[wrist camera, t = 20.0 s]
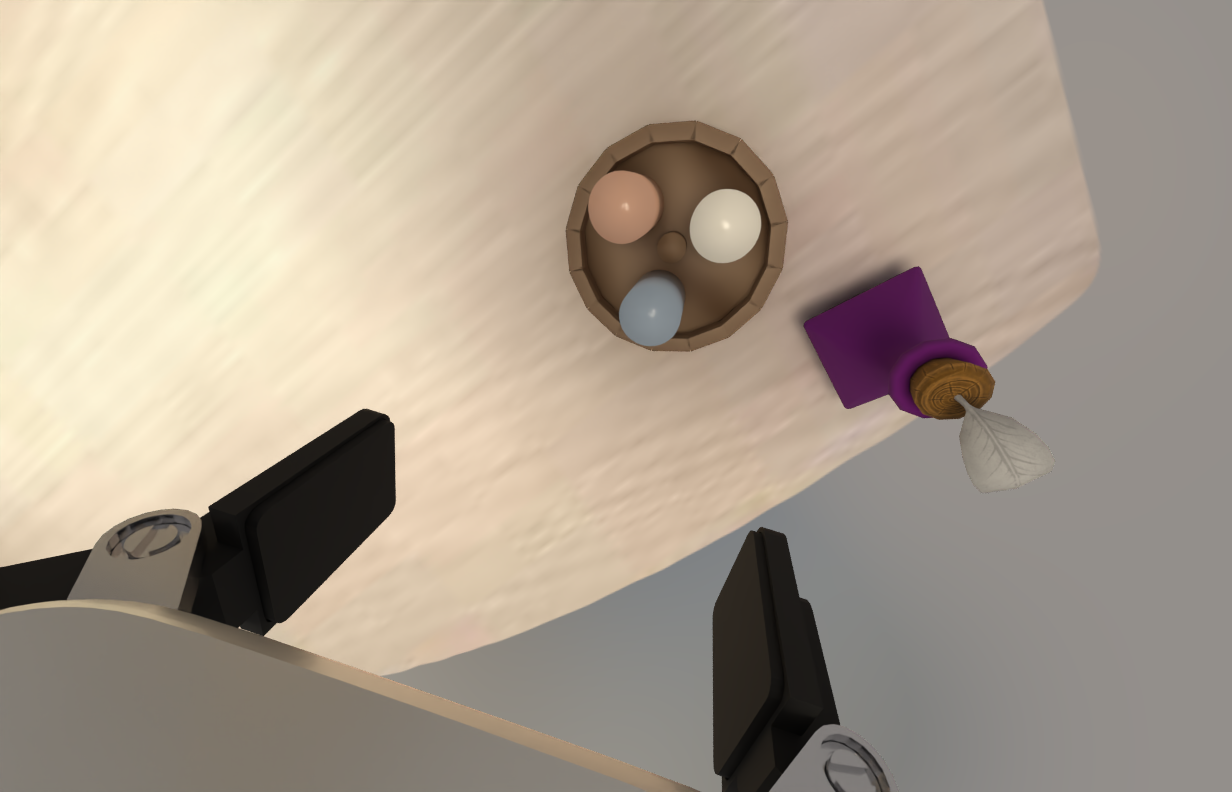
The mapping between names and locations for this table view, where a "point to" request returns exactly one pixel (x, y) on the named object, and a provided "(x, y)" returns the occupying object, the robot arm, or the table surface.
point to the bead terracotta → (625, 206)
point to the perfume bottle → (924, 376)
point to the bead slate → (653, 308)
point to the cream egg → (725, 225)
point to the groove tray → (680, 232)
